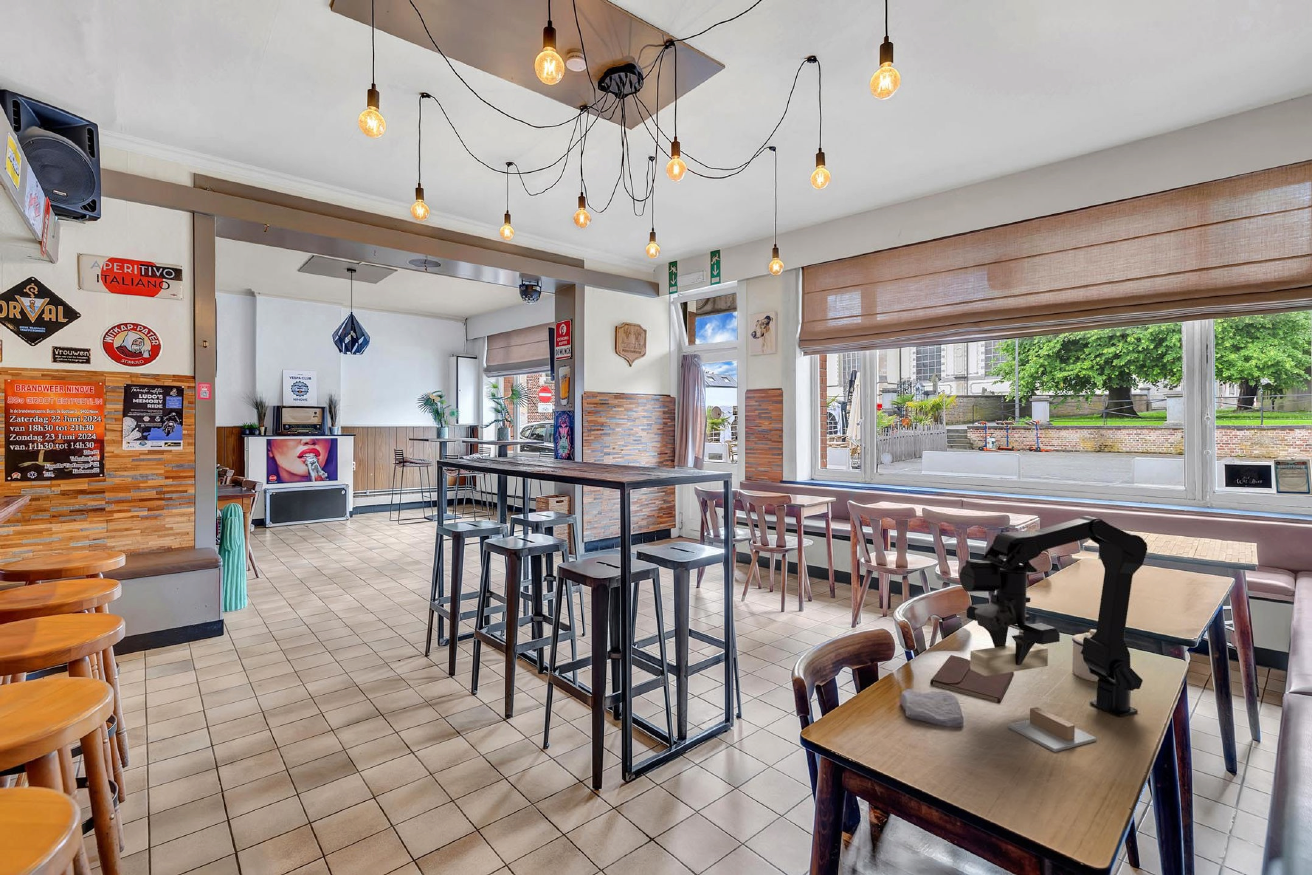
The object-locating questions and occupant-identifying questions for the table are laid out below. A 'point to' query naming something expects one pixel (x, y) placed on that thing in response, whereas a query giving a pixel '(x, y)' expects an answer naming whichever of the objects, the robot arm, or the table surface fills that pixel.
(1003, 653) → the beech bar
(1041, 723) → the fulcrum stand
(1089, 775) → the table surface
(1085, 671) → the teacup with lid
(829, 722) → the table surface
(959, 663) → the notebook
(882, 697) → the table surface
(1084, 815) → the table surface
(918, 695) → the stone block
